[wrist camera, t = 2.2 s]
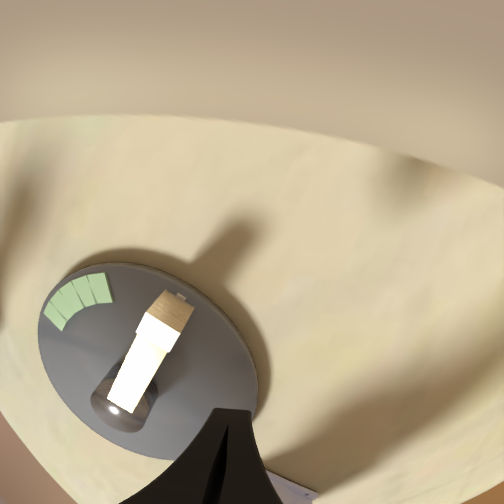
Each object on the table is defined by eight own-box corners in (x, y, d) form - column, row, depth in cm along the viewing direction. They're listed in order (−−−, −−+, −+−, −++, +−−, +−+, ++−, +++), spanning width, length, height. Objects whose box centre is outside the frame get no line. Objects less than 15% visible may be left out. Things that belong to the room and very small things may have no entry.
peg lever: (147, 414, 21) (132, 444, 17) (102, 387, 20) (83, 414, 17) (210, 314, 18) (198, 343, 15) (152, 279, 18) (129, 301, 15)
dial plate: (311, 378, 20) (313, 389, 19) (172, 473, 24) (169, 482, 23) (104, 205, 18) (95, 207, 17) (24, 358, 22) (17, 364, 21)
